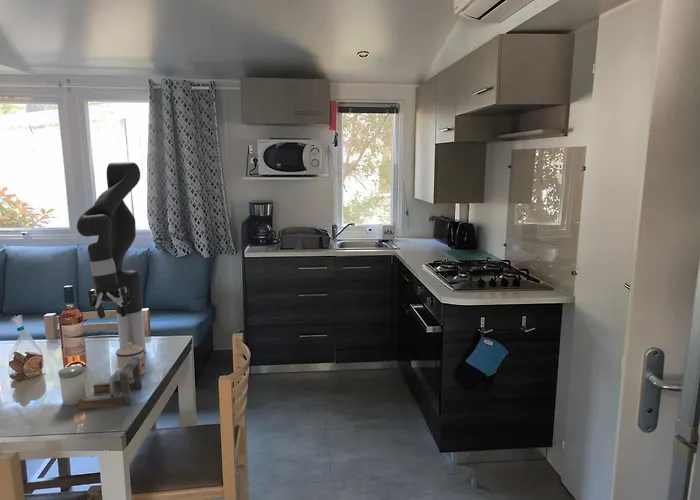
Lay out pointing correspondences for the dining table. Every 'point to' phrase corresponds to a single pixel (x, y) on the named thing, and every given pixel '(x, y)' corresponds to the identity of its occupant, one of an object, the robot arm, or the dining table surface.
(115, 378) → the pusher
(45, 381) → the dining table surface
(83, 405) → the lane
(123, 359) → the teacup with lid
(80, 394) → the jar
